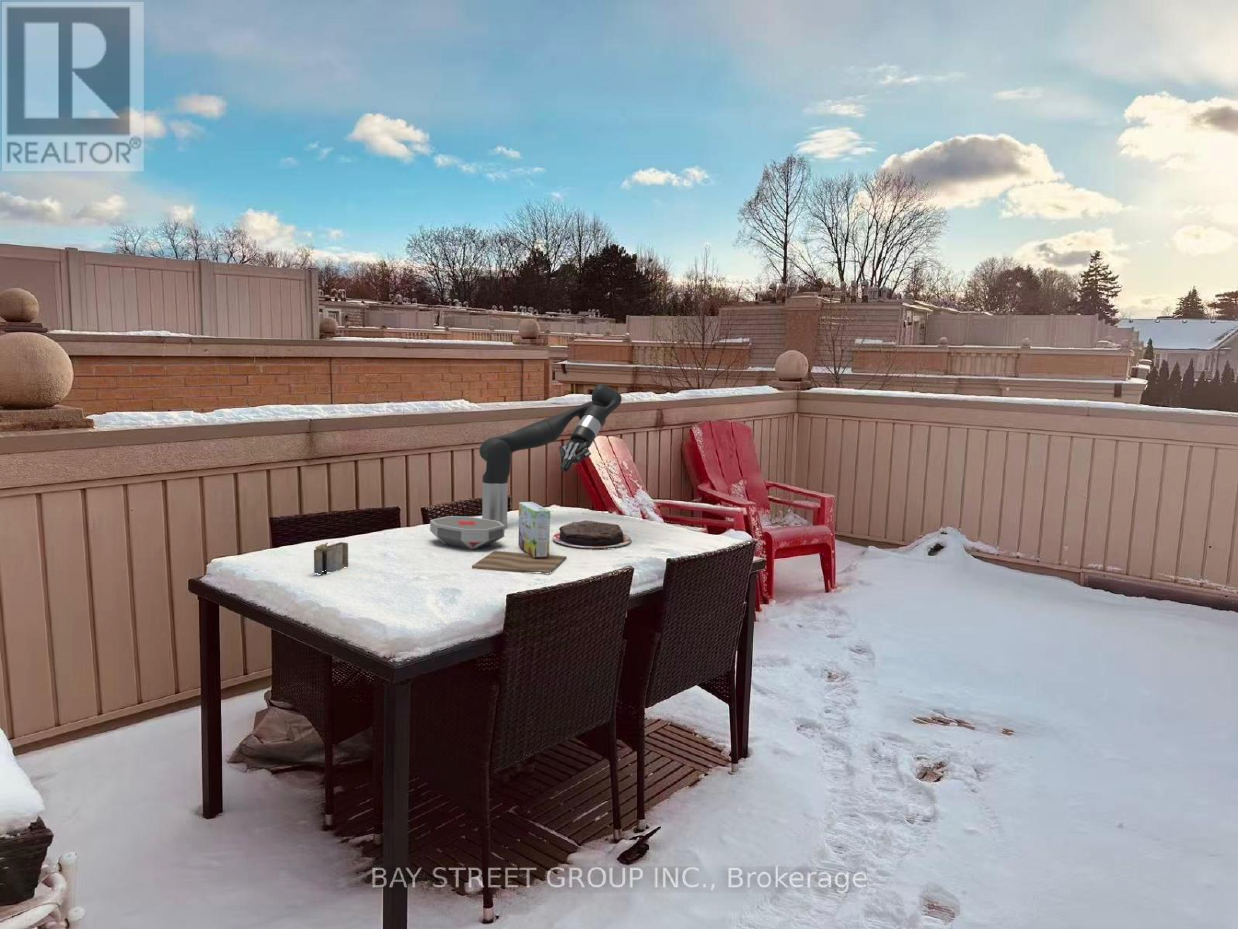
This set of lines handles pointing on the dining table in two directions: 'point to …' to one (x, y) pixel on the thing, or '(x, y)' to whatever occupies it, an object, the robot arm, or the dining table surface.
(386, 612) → the dining table surface
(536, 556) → the snack box
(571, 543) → the chocolate cake
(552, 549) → the dining table surface
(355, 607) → the dining table surface
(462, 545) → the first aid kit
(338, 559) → the ruin model on sheet
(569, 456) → the robot arm
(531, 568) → the walnut board
